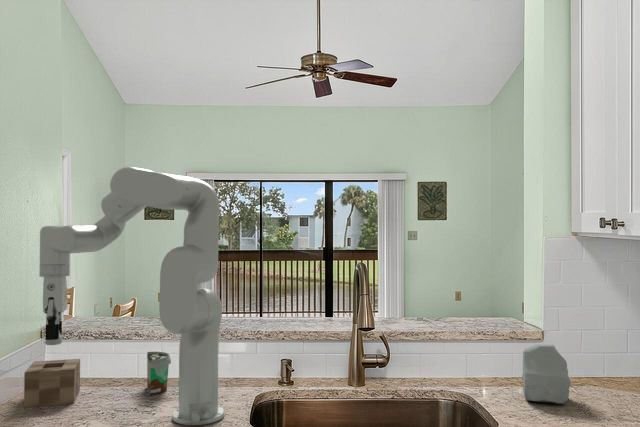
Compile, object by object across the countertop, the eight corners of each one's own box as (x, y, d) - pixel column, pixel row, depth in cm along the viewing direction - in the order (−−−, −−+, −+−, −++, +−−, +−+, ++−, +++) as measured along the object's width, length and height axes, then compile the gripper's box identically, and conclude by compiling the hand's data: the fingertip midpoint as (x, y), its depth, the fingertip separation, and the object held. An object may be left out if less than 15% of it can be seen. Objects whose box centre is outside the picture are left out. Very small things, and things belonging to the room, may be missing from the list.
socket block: (74, 403, 149) (74, 369, 149) (24, 407, 146) (24, 372, 146) (79, 390, 161) (80, 358, 161) (33, 393, 157) (34, 361, 157)
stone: (566, 395, 157) (565, 341, 157) (571, 409, 145) (571, 351, 146) (521, 391, 161) (521, 338, 161) (523, 404, 149) (523, 347, 149)
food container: (173, 395, 156) (173, 359, 157) (150, 397, 154) (150, 361, 154) (168, 383, 168) (168, 349, 168) (146, 385, 166) (147, 351, 166)
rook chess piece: (65, 342, 156) (66, 313, 156) (56, 345, 151) (57, 315, 151) (50, 341, 156) (50, 312, 156) (41, 345, 152) (41, 315, 152)
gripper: (64, 273, 147) (63, 343, 146) (73, 268, 163) (72, 331, 163) (33, 273, 145) (32, 344, 144) (45, 268, 161) (44, 332, 161)
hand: (53, 336), depth 154 cm, fingers closed on rook chess piece, 4 cm apart
